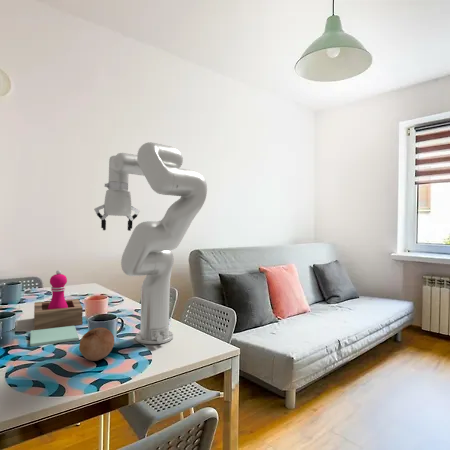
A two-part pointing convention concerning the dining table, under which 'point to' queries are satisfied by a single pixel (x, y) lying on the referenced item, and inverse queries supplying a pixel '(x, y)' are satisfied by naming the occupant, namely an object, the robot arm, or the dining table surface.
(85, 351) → the brown oval lump
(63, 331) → the green mat
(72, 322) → the box
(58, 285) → the pepper mill
